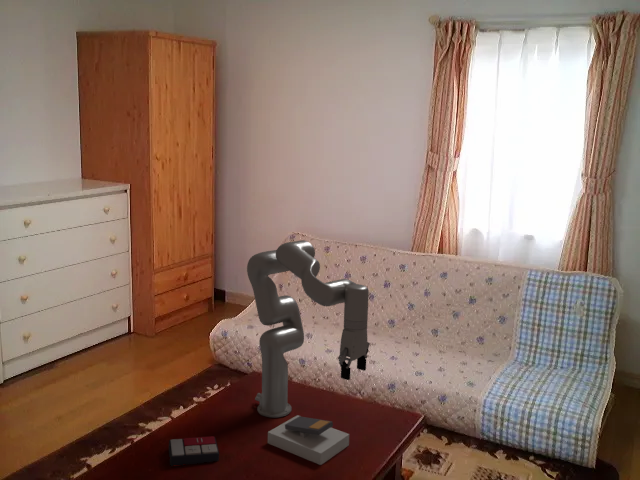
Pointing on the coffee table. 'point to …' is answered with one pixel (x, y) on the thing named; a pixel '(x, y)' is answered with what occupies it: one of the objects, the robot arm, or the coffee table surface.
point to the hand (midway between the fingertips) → (353, 374)
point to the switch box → (309, 442)
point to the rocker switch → (309, 425)
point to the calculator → (193, 450)
